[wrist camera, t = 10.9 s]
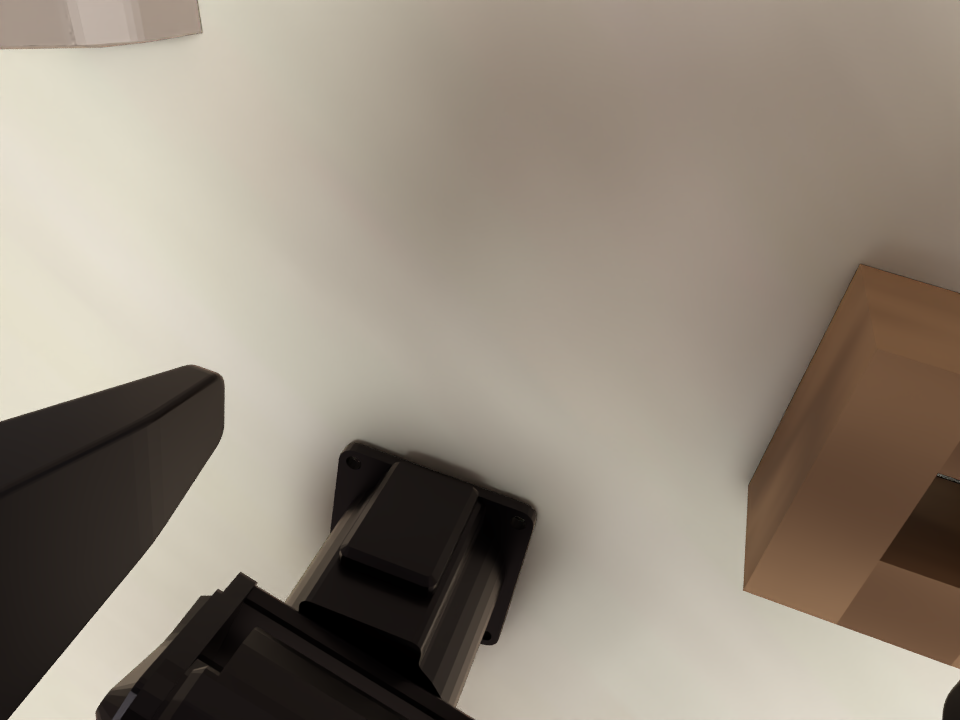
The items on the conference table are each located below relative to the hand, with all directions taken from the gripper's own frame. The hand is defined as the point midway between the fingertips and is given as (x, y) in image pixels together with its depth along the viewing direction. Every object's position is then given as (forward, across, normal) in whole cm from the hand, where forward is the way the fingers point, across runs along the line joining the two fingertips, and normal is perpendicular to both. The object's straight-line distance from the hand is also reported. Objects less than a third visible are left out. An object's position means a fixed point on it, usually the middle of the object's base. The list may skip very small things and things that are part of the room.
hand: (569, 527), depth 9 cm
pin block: (+12, -8, +4) cm, 15 cm away
